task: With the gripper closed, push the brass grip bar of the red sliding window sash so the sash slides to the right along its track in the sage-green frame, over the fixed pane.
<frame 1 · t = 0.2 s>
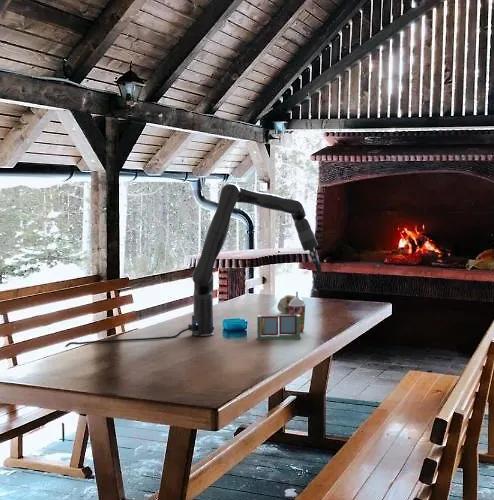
hand: (319, 270, 352), 31 cm above the table, tool tilted 20°, fingers open, 8 cm apart
smoothie: (297, 332, 362), on the table
stone: (290, 312, 421), on the table
green double frame: (278, 338, 345), on the table
window: (269, 326, 342), point 6 cm above the table, slide at 0.0 cm
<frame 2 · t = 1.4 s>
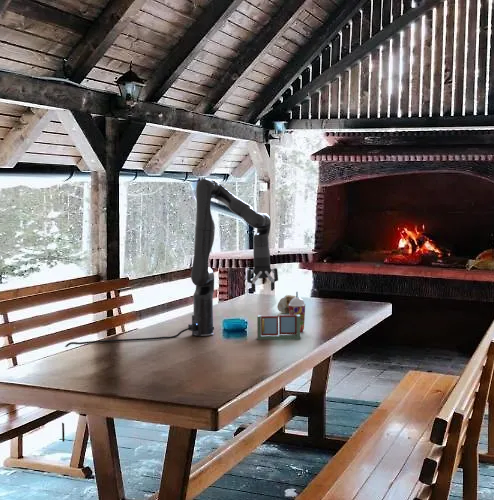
hand: (263, 291, 339), 23 cm above the table, tool pointing down, fingers open, 8 cm apart
nothing on the table moved.
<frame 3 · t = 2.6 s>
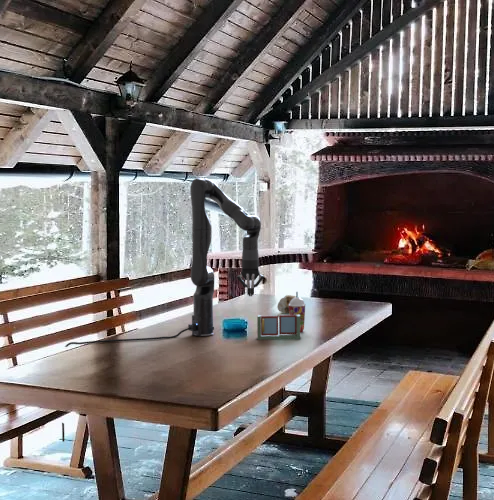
hand: (250, 296, 339), 21 cm above the table, tool pointing down, fingers closed
nothing on the table moved.
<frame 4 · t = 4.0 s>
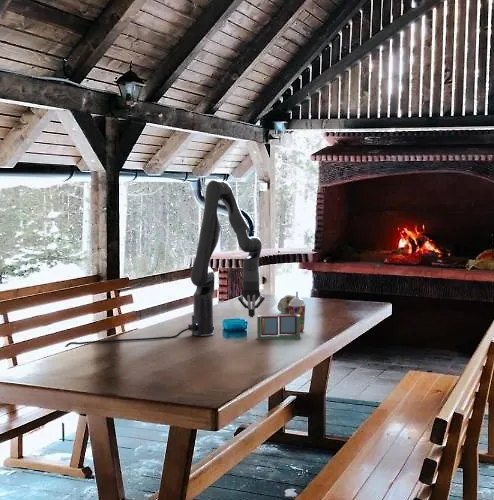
hand: (251, 317, 340), 11 cm above the table, tool pointing down, fingers closed
nothing on the table moved.
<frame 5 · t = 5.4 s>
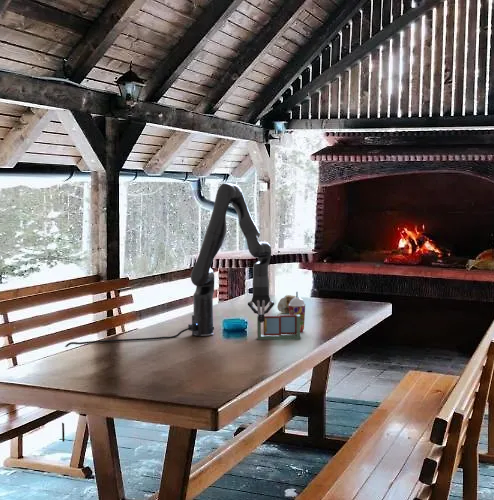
hand: (261, 322, 340), 9 cm above the table, tool pointing down, fingers closed
window: (272, 326, 342), point 6 cm above the table, slide at 1.1 cm, touching gripper
everything else where it was.
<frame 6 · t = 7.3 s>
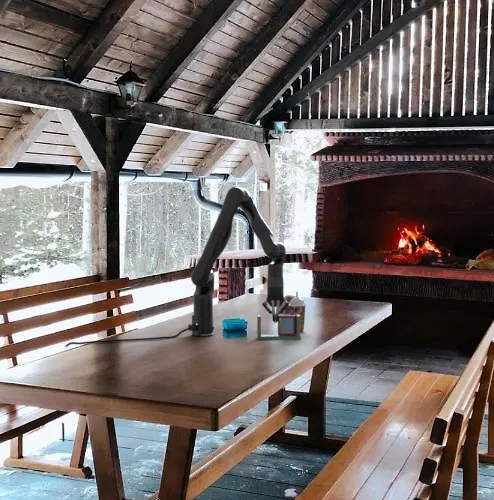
hand: (275, 322, 340), 9 cm above the table, tool pointing down, fingers closed
window: (286, 326, 342), point 6 cm above the table, slide at 7.9 cm, touching gripper
everything else where it was.
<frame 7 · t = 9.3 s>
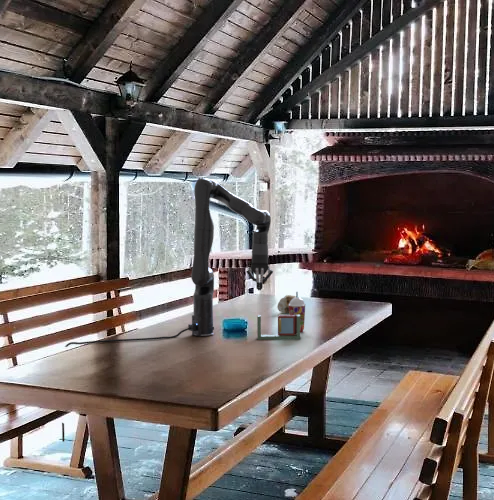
hand: (259, 290, 341), 23 cm above the table, tool pointing down, fingers closed
window: (286, 326, 342), point 6 cm above the table, slide at 7.9 cm
everything else where it was.
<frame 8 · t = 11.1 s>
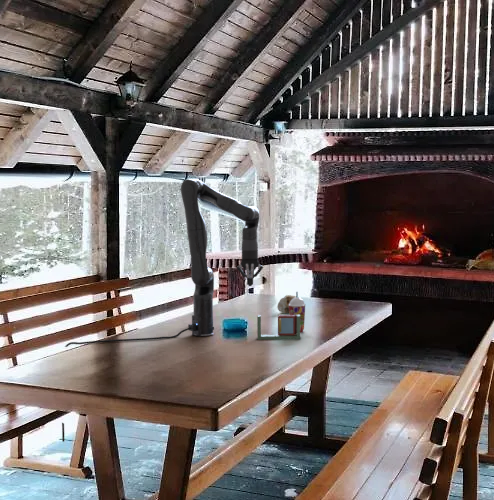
hand: (250, 285, 344), 25 cm above the table, tool pointing down, fingers closed
nothing on the table moved.
at the end: window slide at 7.9 cm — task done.
